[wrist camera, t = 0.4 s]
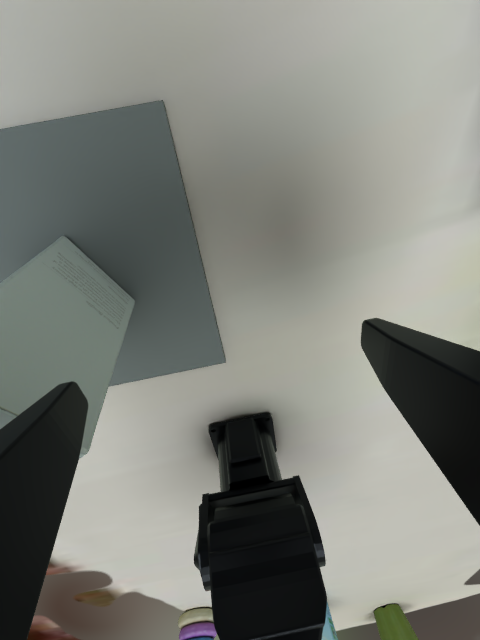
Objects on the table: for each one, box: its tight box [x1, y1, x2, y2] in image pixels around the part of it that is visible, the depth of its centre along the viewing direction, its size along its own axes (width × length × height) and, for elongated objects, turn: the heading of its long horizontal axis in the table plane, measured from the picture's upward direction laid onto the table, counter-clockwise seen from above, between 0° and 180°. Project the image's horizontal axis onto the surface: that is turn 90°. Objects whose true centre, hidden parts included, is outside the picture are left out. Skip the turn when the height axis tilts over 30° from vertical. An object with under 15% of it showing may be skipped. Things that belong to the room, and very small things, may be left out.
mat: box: [0, 100, 226, 387], centre depth 19 cm, size 18×24×1 cm
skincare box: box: [0, 236, 135, 458], centre depth 14 cm, size 6×4×12 cm
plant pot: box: [374, 604, 418, 640], centre depth 74 cm, size 12×12×11 cm
